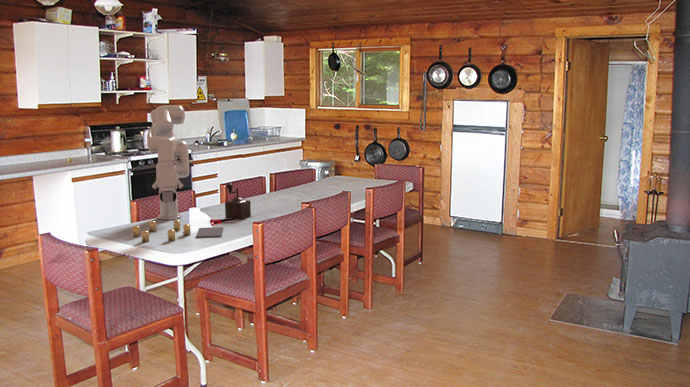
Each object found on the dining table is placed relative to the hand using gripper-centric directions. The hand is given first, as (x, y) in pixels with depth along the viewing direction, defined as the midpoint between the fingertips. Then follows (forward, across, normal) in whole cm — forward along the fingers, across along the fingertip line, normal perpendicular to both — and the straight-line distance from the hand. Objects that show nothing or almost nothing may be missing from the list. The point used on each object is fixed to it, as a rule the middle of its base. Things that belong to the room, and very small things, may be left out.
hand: (168, 200), depth 301 cm
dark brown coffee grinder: (+18, -29, -39) cm, 52 cm away
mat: (+17, -19, -2) cm, 26 cm away
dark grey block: (+1, 0, 0) cm, 1 cm away
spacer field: (+17, +4, 0) cm, 18 cm away
